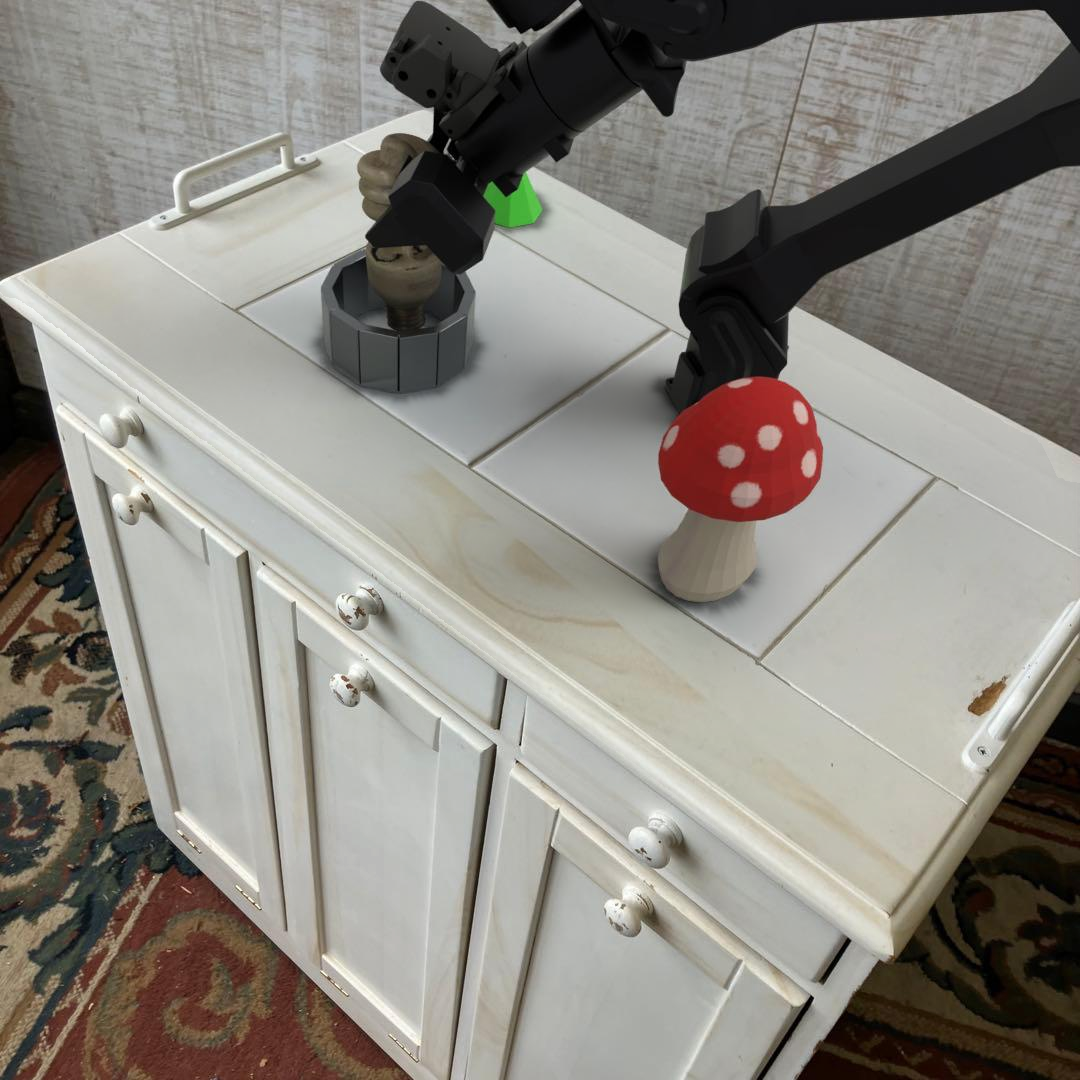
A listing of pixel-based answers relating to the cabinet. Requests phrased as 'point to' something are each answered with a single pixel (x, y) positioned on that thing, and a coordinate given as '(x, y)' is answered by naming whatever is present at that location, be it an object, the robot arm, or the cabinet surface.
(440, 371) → the faceted gray ring
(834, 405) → the cabinet surface
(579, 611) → the cabinet surface
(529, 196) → the green faceted cone
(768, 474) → the decorative mushroom
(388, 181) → the light bulb
